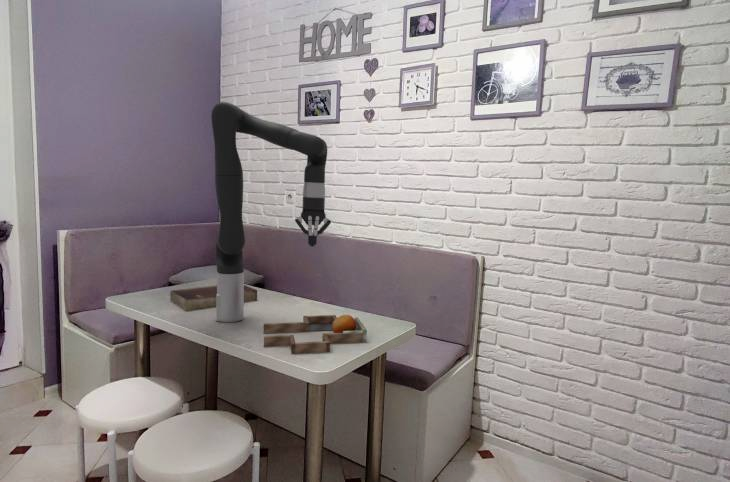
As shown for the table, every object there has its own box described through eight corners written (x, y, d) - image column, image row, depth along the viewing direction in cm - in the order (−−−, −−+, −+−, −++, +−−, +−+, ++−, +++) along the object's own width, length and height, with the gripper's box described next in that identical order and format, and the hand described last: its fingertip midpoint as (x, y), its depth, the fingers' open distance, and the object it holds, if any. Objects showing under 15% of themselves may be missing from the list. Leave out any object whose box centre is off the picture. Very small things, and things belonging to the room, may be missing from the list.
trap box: (264, 355, 130) (264, 342, 129) (263, 325, 156) (263, 314, 156) (371, 350, 137) (372, 337, 136) (353, 322, 163) (353, 311, 163)
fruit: (361, 335, 145) (349, 314, 144) (340, 347, 146) (328, 326, 145) (361, 327, 153) (349, 308, 152) (341, 338, 154) (329, 319, 153)
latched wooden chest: (237, 292, 202) (237, 281, 201) (256, 301, 188) (257, 290, 187) (170, 301, 183) (170, 289, 183) (186, 312, 169) (186, 299, 169)
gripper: (295, 195, 149) (293, 247, 151) (334, 197, 152) (332, 248, 154) (293, 194, 156) (292, 244, 158) (331, 196, 159) (329, 245, 161)
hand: (312, 246), depth 156 cm, fingers closed
